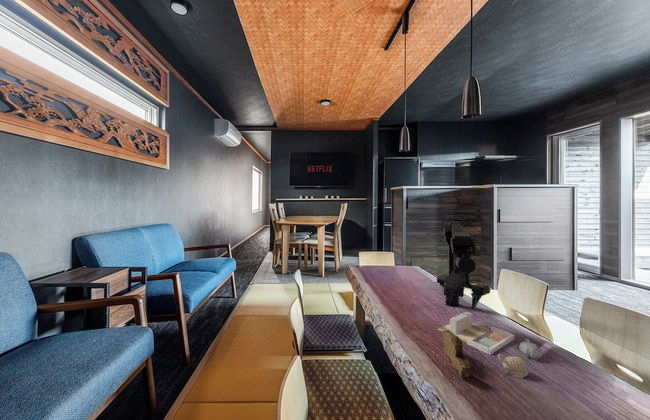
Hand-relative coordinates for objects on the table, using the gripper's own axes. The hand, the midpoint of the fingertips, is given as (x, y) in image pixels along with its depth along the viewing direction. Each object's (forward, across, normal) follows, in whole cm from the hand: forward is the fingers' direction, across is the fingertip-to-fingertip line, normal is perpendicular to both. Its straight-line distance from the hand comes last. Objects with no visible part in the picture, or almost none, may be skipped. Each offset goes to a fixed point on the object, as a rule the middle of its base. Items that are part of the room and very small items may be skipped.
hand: (461, 305), depth 101 cm
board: (+11, +1, 0) cm, 11 cm away
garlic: (+11, +21, +4) cm, 24 cm away
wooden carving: (+11, +11, -22) cm, 27 cm away
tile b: (+11, +12, -3) cm, 16 cm away
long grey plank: (+10, 0, 0) cm, 10 cm away
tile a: (+11, +12, +4) cm, 16 cm away
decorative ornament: (+11, +22, -10) cm, 27 cm away
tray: (+11, +11, 0) cm, 16 cm away
